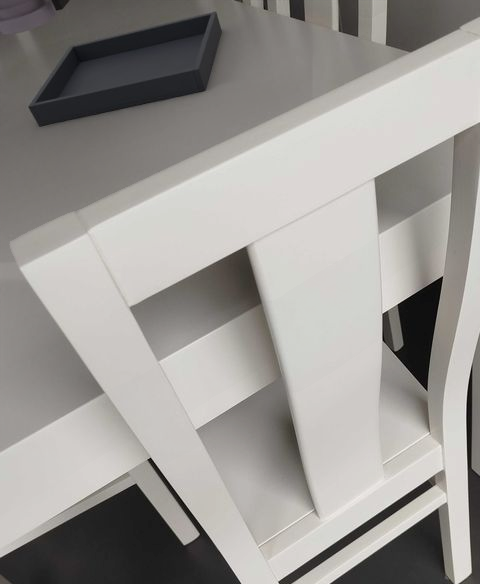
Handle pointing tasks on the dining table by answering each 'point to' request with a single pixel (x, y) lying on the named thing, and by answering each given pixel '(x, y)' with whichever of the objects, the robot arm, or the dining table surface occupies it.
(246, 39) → the dining table surface
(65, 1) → the robot arm
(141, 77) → the tray
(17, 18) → the cat figurine
